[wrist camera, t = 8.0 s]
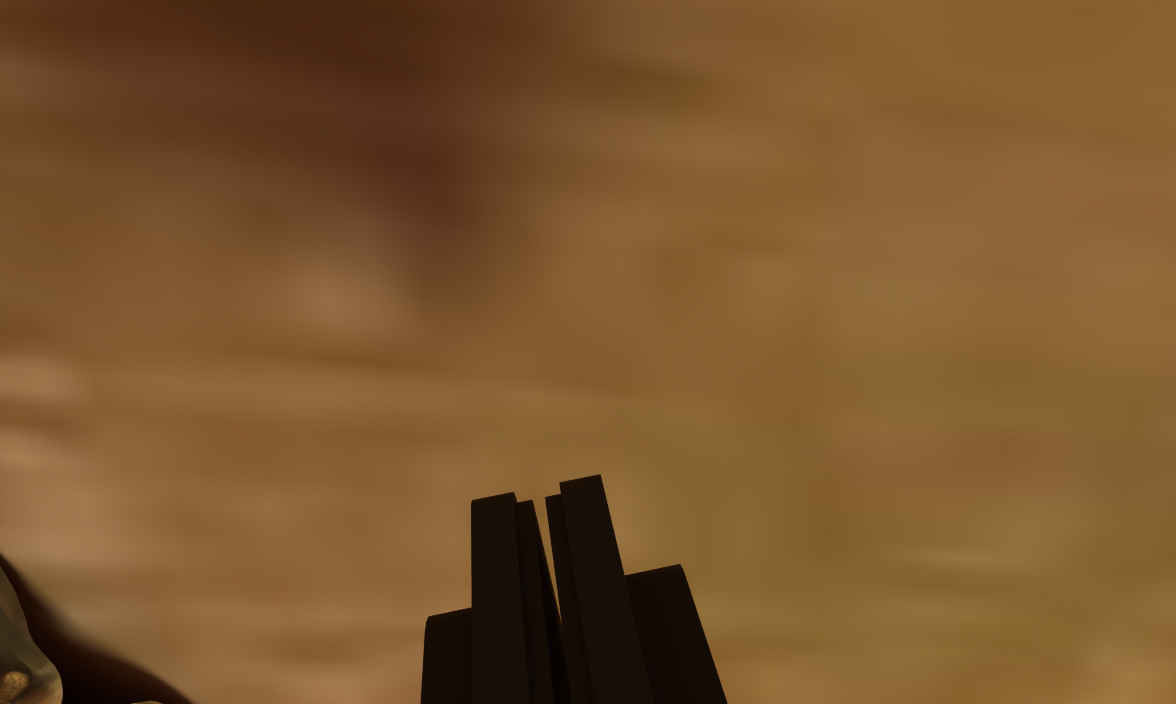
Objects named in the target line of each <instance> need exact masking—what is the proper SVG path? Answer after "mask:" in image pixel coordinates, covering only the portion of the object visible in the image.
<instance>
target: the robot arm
mask: <svg viewBox="0 0 1176 704" xmlns="http://www.w3.org/2000/svg"><path fill="white" fill-rule="evenodd" d="M559 483H560V490H561V494H557V495H552V496H548V497H545V501H546V509H547V516H548V524H549V531H550V539H551V546H552V554H553V561H554V569H555V576H556V584H557V591H558V599H559V606H560V614H561V619H560V615H559V611H558V607H557V602H556V598H555V594H554V589H553V585H552V581H551V576H550V572H549V568H548V564H547V559H546V555H545V551H544V546H543V542H542V538H541V534H540V529H539V525H538V521H537V516H536V512H535V508H534V504H533V501H532V500H528V501H523V502H518V503H517V500H516V496H515V493H514V492H510V493H505V494H500V495H496V496H491V497H486V498H481V499H476V500H472V502H471V573H472V607H471V608H467V609H462V610H457V611H452V612H448V613H443V614H438V615H433V616H429V617H428V619H427V621H426V627H425V638H424V655H423V672H422V689H421V704H727V701H726V698H725V694H724V691H723V688H722V685H721V682H720V679H719V676H718V673H717V670H716V667H715V664H714V661H713V658H712V655H711V652H710V649H709V646H708V643H707V640H706V637H705V634H704V631H703V628H702V625H701V622H700V619H699V616H698V613H697V609H696V606H695V603H694V600H693V597H692V594H691V591H690V588H689V585H688V582H687V579H686V576H685V574H684V571H683V568H682V566H681V565H680V564H678V565H673V566H668V567H663V568H659V569H654V570H649V571H644V572H639V573H635V574H630V575H624V571H623V567H622V563H621V558H620V554H619V550H618V546H617V542H616V537H615V533H614V529H613V525H612V521H611V516H610V512H609V508H608V504H607V500H606V495H605V491H604V487H603V483H602V479H601V475H600V474H599V475H594V476H589V477H584V478H579V479H574V480H569V481H564V482H559ZM561 621H562V624H561Z"/></svg>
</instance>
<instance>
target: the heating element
mask: <svg viewBox="0 0 1176 704" xmlns="http://www.w3.org/2000/svg"><path fill="white" fill-rule="evenodd" d="M62 697H63V691H62V683H61V678H60V675H59V673H58V671H57V669H56V667H55V666H54V665H53V664H52V662H51V661H50V660H49V659H48V658H47V657H46V656H45V655H44V653H43V652H42V651H41V650H40V649H39V648H38V647H37V646H36V644H35V643H34V641H33V639H32V637H31V635H30V633H29V630H28V626H27V622H26V618H25V615H24V612H23V610H22V607H21V605H20V602H19V600H18V597H17V594H16V592H15V590H14V589H13V587H12V585H11V583H10V582H9V580H8V578H7V576H6V575H5V573H4V571H3V569H2V568H1V566H0V704H61V702H62ZM133 704H162V703H159V702H155V701H145V702H139V703H133Z"/></svg>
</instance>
